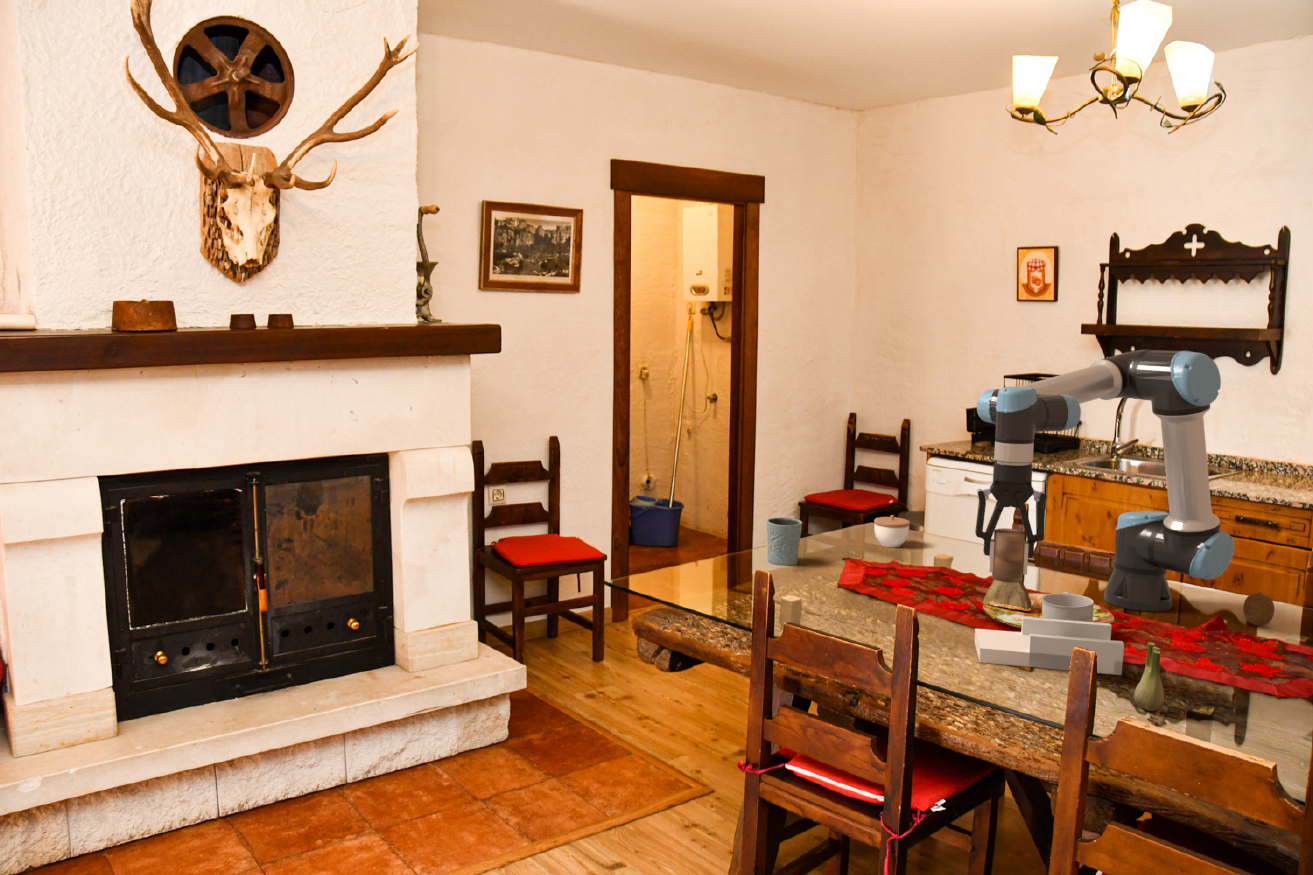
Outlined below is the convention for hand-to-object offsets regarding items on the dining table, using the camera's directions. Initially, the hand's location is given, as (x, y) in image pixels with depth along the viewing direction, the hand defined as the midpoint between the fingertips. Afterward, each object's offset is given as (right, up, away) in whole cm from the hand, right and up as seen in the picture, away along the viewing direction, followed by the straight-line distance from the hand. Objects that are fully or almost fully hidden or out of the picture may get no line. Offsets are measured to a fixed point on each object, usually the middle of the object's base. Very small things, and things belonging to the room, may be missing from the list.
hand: (1007, 571), depth 203 cm
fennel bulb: (+17, -22, -25) cm, 37 cm away
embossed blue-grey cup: (-37, -8, +76) cm, 85 cm away
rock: (+13, -14, +35) cm, 40 cm away
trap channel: (+8, -18, 0) cm, 20 cm away
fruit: (+66, -16, +23) cm, 72 cm away
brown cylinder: (0, -1, 0) cm, 1 cm away
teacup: (+20, -16, +18) cm, 31 cm away
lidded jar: (-1, -6, +98) cm, 98 cm away
